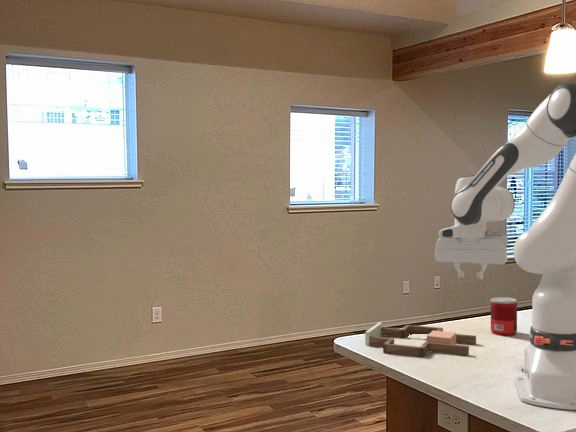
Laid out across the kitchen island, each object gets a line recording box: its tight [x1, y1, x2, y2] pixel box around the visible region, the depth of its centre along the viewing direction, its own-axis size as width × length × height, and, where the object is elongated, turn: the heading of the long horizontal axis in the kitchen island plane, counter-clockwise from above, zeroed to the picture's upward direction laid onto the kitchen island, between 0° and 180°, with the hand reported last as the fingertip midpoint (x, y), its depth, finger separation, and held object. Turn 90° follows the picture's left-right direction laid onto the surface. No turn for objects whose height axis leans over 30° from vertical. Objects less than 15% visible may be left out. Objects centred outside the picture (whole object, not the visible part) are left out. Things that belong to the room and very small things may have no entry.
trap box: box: [364, 321, 477, 358], centre depth 190 cm, size 25×31×4 cm
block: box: [426, 330, 457, 345], centre depth 187 cm, size 7×7×4 cm
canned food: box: [490, 296, 518, 337], centre depth 201 cm, size 8×8×11 cm
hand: (470, 278), depth 182 cm, fingers open, 4 cm apart
